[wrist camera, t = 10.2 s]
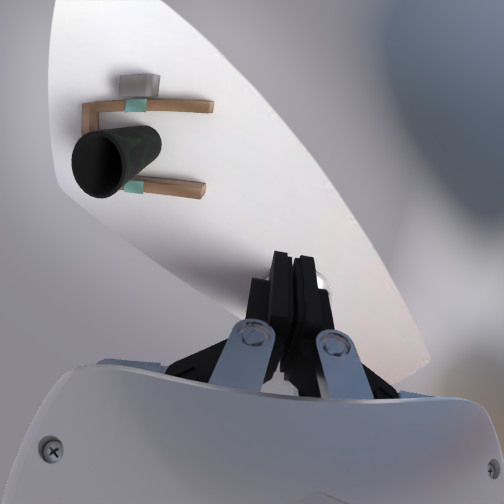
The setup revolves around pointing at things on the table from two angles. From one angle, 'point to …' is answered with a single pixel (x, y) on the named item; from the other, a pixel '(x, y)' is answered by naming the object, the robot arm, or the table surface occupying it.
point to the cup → (113, 158)
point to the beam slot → (145, 87)
